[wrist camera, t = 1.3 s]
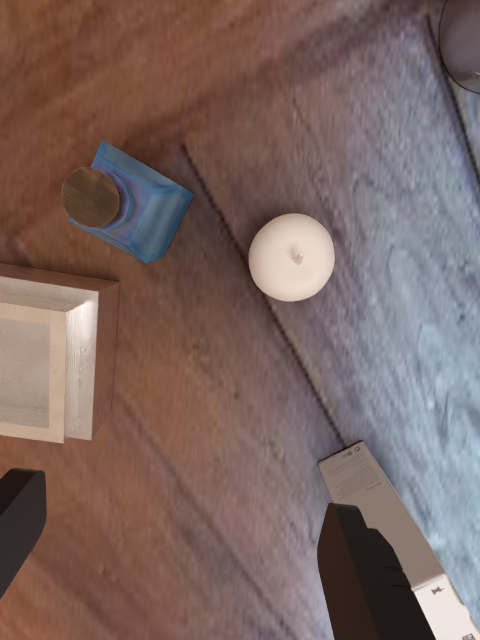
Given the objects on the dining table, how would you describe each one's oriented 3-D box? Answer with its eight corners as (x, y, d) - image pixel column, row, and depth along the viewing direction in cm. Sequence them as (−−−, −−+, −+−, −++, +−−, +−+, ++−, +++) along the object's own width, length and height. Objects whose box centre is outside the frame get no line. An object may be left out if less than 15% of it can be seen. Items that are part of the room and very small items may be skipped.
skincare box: (316, 461, 37) (364, 608, 23) (365, 437, 36) (446, 573, 22) (350, 512, 39) (414, 677, 25) (397, 490, 38) (491, 647, 24)
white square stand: (-32, 257, 31) (-114, 267, 24) (119, 281, 32) (84, 298, 24) (-24, 392, 35) (-93, 435, 28) (111, 411, 35) (78, 458, 28)
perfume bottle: (193, 194, 30) (165, 174, 18) (163, 256, 31) (119, 274, 20) (130, 157, 29) (57, 111, 17) (101, 222, 30) (17, 220, 19)
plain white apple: (330, 221, 30) (362, 220, 23) (313, 297, 32) (336, 320, 25) (254, 208, 30) (260, 202, 22) (241, 285, 32) (242, 305, 24)
